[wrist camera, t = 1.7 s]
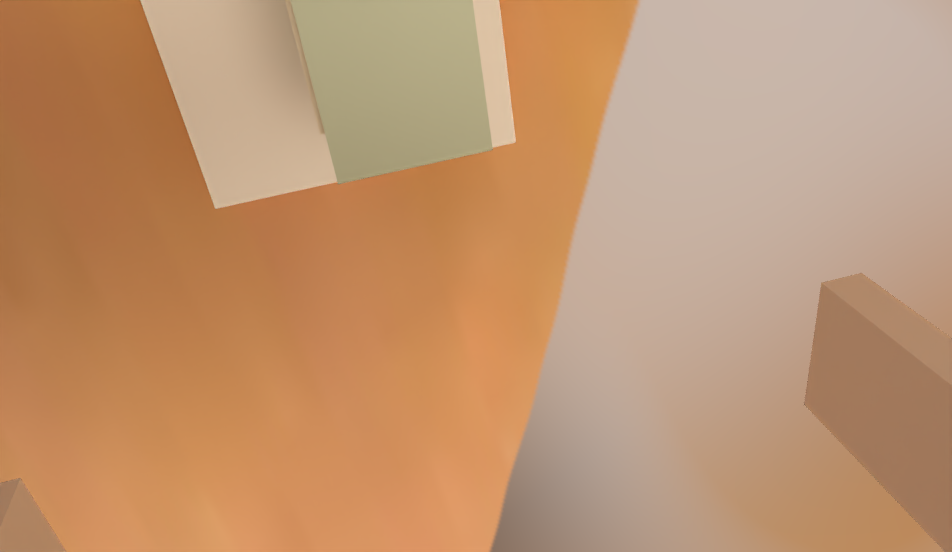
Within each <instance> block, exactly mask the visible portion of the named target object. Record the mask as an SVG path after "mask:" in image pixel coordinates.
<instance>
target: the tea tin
mask: <svg viewBox="0 0 952 552" xmlns="http://www.w3.org/2000/svg"><path fill="white" fill-rule="evenodd" d="M285 2H286V6H287V10H288V14H289V18H290V21H291V25H292V29H293V33H294V37H295V40H296V44H297V48H298V52H299V56H300V59H301V63H302V67H303V71H304V75H305V79H306V82H307V86H308V90H309V94H310V98H311V101H312V105H313V109H314V113H315V117H316V120H317V124H318V128H319V132H320V135H321V134H325V135H326V139H327V143H328V147H329V151H330V155H331V159H332V163H333V166H334V170H335V174H336V178H337V182H338V184H342V183H346V182H351V181H355V180H360V179H364V178H369V177H373V176H378V175H382V174H387V173H391V172H396V171H400V170H405V169H409V168H414V167H418V166H423V165H427V164H432V163H436V162H441V161H445V160H450V159H454V158H459V157H463V156H468V155H472V154H477V153H481V152H486V151H490V150H493V148H492V140H491V133H490V126H489V118H488V111H487V104H486V96H485V89H484V81H483V74H482V67H481V59H480V52H479V45H478V37H477V30H476V22H475V15H474V8H473V0H285Z"/></svg>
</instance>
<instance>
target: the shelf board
mask: <svg viewBox="0 0 952 552" xmlns="http://www.w3.org/2000/svg"><path fill="white" fill-rule="evenodd" d="M140 1H141V4H142V7H143V9H144V12H145V15H146V18H147V20H148V23H149V26H150V29H151V32H152V34H153V37H154V40H155V43H156V45H157V48H158V51H159V54H160V57H161V59H162V62H163V65H164V68H165V70H166V73H167V76H168V79H169V82H170V84H171V87H172V90H173V93H174V95H175V98H176V101H177V104H178V107H179V109H180V112H181V115H182V118H183V121H184V123H185V126H186V129H187V132H188V134H189V137H190V140H191V143H192V146H193V148H194V151H195V154H196V157H197V159H198V162H199V165H200V168H201V171H202V173H203V176H204V179H205V182H206V184H207V187H208V190H209V193H210V196H211V198H212V201H213V204H214V207H215V209H218V208H222V207H227V206H231V205H236V204H240V203H245V202H249V201H254V200H258V199H263V198H267V197H272V196H276V195H281V194H285V193H290V192H294V191H299V190H303V189H308V188H312V187H317V186H321V185H326V184H331V183H335V182H337V178H336V174H335V170H334V166H333V163H332V159H331V155H330V151H329V147H328V143H327V139H326V135H325V134H321V135H320V132H319V128H318V124H317V120H316V117H315V113H314V109H313V105H312V101H311V98H310V94H309V90H308V86H307V82H306V79H305V75H304V71H303V67H302V63H301V59H300V56H299V52H298V48H297V44H296V40H295V37H294V33H293V29H292V25H291V21H290V18H289V14H288V10H287V6H286V2H285V0H140ZM473 8H474V15H475V22H476V30H477V37H478V45H479V52H480V59H481V67H482V74H483V81H484V89H485V96H486V104H487V111H488V118H489V126H490V133H491V140H492V148H493V147H498V146H502V145H507V144H511V143H516V139H515V130H514V122H513V113H512V105H511V96H510V88H509V79H508V71H507V62H506V54H505V45H504V37H503V28H502V20H501V11H500V3H499V0H473Z"/></svg>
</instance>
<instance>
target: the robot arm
mask: <svg viewBox="0 0 952 552" xmlns="http://www.w3.org/2000/svg"><path fill="white" fill-rule="evenodd" d="M804 405H805V406H806V407H807V408H808V409H809V410H810V411H811V412H812V413H813V414H814V415H815V416H816V417H817V418H818V419H819V420H820V421H821V423H823V425H824V426H825V427H826V428H827V429H828V430H829V431H830V432H831V433H832V434H833V435H834V436H835V437H836V438H837V439H838V440H839V441H840V442H841V443H842V444H843V445H844V447H845V448H846V449H847V450H848V451H849V452H850V453H851V454H852V455H853V456H854V457H855V458H856V459H857V460H858V461H859V462H860V463H861V464H862V465H863V467H865V469H866V470H867V471H868V472H869V473H870V474H871V475H872V476H873V477H874V478H875V479H876V480H877V481H878V482H879V483H880V484H881V485H882V486H883V487H884V488H885V490H886V491H888V493H889V494H890V495H891V496H892V497H893V498H894V499H895V500H896V501H897V502H898V503H899V504H900V505H901V506H902V507H903V508H904V509H905V510H906V511H907V512H908V513H909V515H910V516H911V517H912V518H913V519H914V520H915V521H916V522H917V523H918V524H919V525H920V526H921V527H922V528H923V529H924V530H925V531H926V532H927V533H928V535H929V536H930V537H931V538H932V539H933V540H934V541H935V542H936V543H937V544H938V545H939V546H940V547H941V548H942V549H943V550H944V551H945V552H952V338H951V337H949V336H948V335H947V334H946V333H944V332H943V331H941V330H940V329H939V328H937V327H936V326H934V325H933V324H931V323H930V322H929V321H927V320H926V319H924V318H923V317H922V316H921V315H919V314H917V313H916V312H915V311H914V310H912V309H911V308H909V307H908V306H907V305H905V304H904V303H902V302H901V301H900V300H898V299H897V298H895V297H894V296H893V295H891V294H890V293H889V292H887V291H886V290H884V289H883V288H881V287H880V286H879V285H877V284H876V283H875V282H873V281H872V280H870V279H869V278H868V277H866V276H865V275H863V274H862V273H860V274H855V275H851V276H847V277H843V278H839V279H835V280H831V281H827V282H823V283H821V290H820V297H819V304H818V311H817V318H816V325H815V332H814V339H813V346H812V353H811V360H810V367H809V374H808V381H807V389H806V395H805V402H804ZM0 552H66V551H65V549H64V547H63V546H62V544H61V543H60V541H59V539H58V538H57V536H56V534H55V533H54V531H53V530H52V528H51V526H50V525H49V523H48V522H47V520H46V518H45V517H44V515H43V513H42V512H41V510H40V509H39V507H38V505H37V504H36V502H35V501H34V499H33V497H32V496H31V494H30V492H29V491H28V489H27V488H26V486H25V484H24V483H23V481H22V480H21V478H18V479H14V480H10V481H6V482H2V483H0Z"/></svg>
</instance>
